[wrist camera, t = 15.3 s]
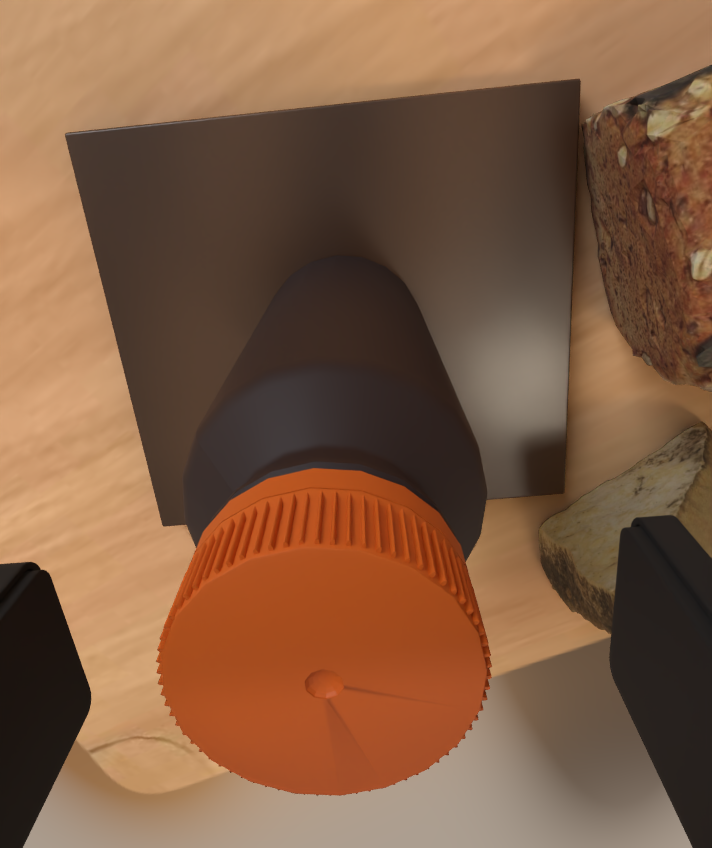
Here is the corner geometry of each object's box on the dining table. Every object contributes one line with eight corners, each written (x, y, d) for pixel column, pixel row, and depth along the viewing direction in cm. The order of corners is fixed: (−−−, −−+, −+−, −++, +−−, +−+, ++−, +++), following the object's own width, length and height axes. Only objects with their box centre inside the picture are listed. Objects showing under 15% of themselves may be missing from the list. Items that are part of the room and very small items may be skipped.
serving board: (569, 82, 25) (581, 78, 24) (555, 479, 32) (564, 494, 31) (78, 134, 26) (63, 132, 24) (170, 511, 33) (162, 527, 31)
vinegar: (453, 339, 28) (649, 700, 9) (338, 432, 29) (312, 892, 11) (351, 218, 26) (343, 370, 7) (234, 325, 27) (-12, 668, 9)
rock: (749, 373, 27) (532, 442, 27) (887, 554, 23) (630, 638, 23) (675, 478, 37) (513, 529, 37) (762, 621, 32) (579, 681, 32)
